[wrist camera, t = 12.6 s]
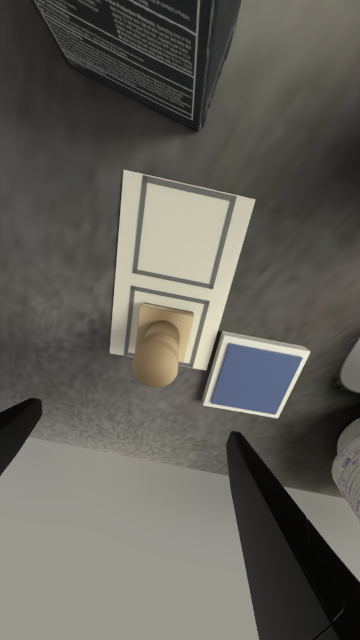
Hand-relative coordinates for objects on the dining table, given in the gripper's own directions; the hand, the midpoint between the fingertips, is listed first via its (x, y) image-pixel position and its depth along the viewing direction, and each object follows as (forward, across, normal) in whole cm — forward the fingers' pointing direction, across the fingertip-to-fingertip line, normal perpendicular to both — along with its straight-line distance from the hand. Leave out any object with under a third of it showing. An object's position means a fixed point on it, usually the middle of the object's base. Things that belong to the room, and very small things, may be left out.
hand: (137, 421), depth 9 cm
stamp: (+11, 0, 0) cm, 11 cm away
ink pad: (+11, -11, +3) cm, 16 cm away
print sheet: (+11, 0, -5) cm, 12 cm away
